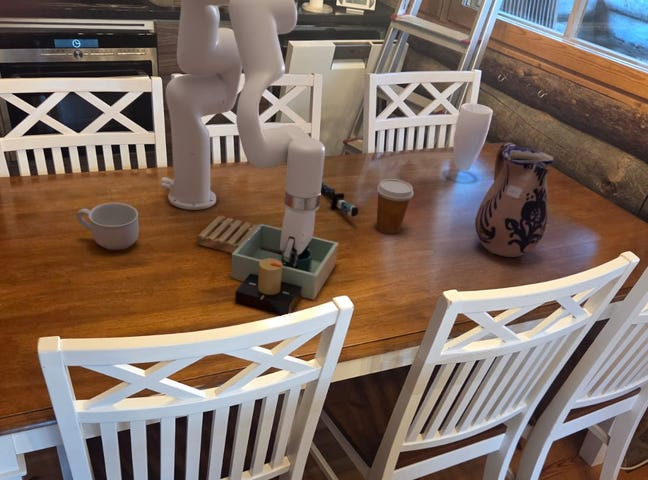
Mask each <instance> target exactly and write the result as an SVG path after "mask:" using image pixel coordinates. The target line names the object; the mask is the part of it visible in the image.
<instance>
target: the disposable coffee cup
mask: <svg viewBox="0 0 648 480" xmlns="http://www.w3.org/2000/svg"><path fill="white" fill-rule="evenodd" d="M376 191H377V205H376V206H377V209H376V210H377V211H376V229H377V230H378V231H380V232H382V233H384V234H397V233H399V232H400V230H401V227H402V225H403V222H404V219H405V216H406V213H407V210H408V208H409V205H410V201H411V199H412V198H413V196H414V194H415V192H414V190H413V185H411V184H410V183H408V182H406V181H404V180H401V179H396V178H387V179H382V180H381V181H380V182H379V183H378V185H377V187H376Z"/></svg>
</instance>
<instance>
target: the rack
mask: <svg viewBox="0 0 648 480" xmlns="http://www.w3.org/2000/svg"><path fill="white" fill-rule="evenodd" d="M258 225H259V224H254V225H253V226H252V223H251V222H247V221H245V223H244V224H243V220H239V219H236V220H235V222H234V218H232V217H227V218H226V219H225V216H224V215H218V216H217V217H215V219H213V221H211V223H209V225H208V226H206V227H205V228H204V229H203V230H202V231H200V233H199V234H198V235H197V245H199V246H202V247H207V248H210V249H215V250H217V251H222V252H225V253H230V254H232V253H233V252H234V251H235V250H236V249H237V248H238V247H239V246H240V245H241V244H242V243H243V242H244V240H245V239H246V238H247V237H248V236H249V235H250V234H251V233H252V232H253V231H254V230H255V229H256V228H257V226H258ZM240 238H241V239H240Z"/></svg>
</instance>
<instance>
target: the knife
mask: <svg viewBox="0 0 648 480" xmlns="http://www.w3.org/2000/svg"><path fill="white" fill-rule="evenodd" d="M321 194H322V195H323V196H325V197H326V198H327V199H328V200H329V201H331V204H330V208H331V209H332V210H334V209H339V210H341V212H343V213H345V214H346V215H347V216H349V217H350V218H354V217H356V216H358V214H359V208H358V207H357V206H356V205H354V204H351V203H349V202H347V201H346V200H344V198H345V194H344V193H343V192H338V193H336V188H330V187H329V186H327V185H326V184H325V183H324V182H323V181H322V185H321Z"/></svg>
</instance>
